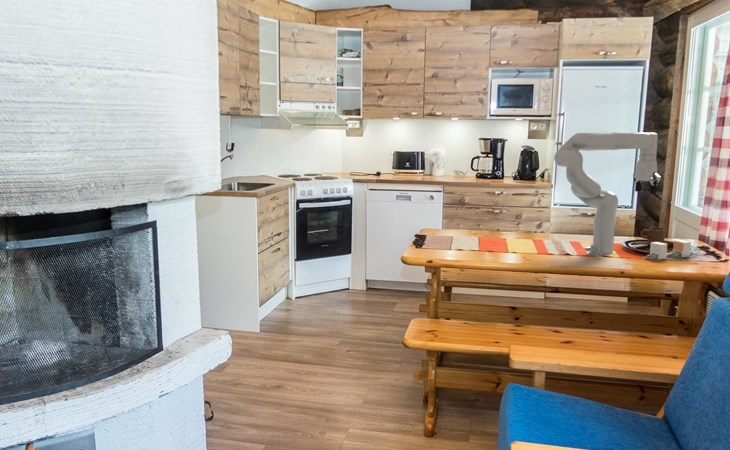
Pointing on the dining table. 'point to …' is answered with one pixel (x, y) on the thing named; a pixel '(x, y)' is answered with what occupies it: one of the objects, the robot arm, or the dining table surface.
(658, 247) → the white block
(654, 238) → the mug
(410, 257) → the dining table surface
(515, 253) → the dining table surface
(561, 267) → the dining table surface
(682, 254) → the white and orange block
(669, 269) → the dining table surface
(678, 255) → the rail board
